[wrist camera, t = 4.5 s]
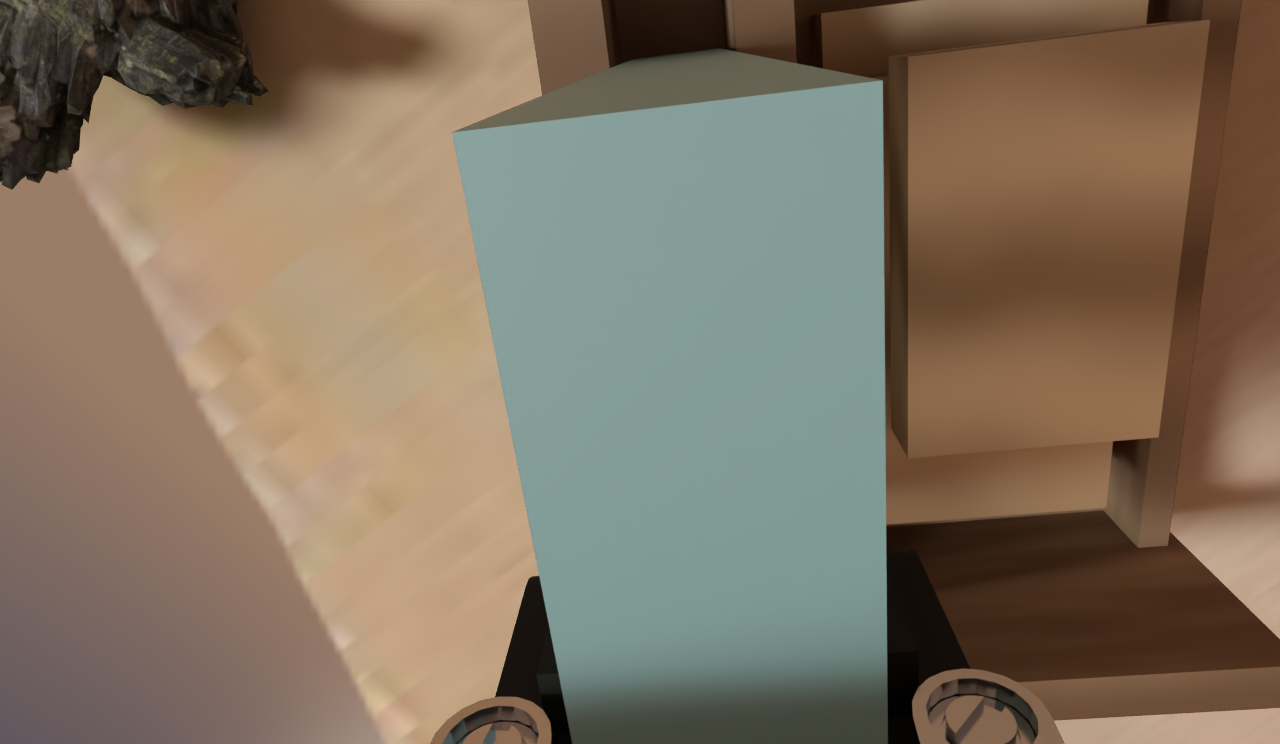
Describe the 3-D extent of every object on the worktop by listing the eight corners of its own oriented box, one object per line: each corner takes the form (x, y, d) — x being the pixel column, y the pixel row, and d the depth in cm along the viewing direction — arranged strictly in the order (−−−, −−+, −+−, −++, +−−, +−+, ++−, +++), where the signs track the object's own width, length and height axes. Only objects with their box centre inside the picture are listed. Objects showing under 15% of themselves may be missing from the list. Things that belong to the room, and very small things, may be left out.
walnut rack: (532, -86, 26) (449, -163, 16) (1197, -181, 24) (1524, -326, 15) (626, 557, 34) (606, 745, 25) (1120, 520, 33) (1296, 706, 23)
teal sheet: (631, 59, 23) (451, 133, 5) (719, 48, 23) (882, 81, 5) (680, 485, 28) (684, 1310, 10) (752, 479, 28) (892, 1311, 10)
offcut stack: (810, 16, 25) (848, 6, 20) (1115, -24, 24) (1245, -45, 19) (828, 474, 31) (861, 568, 25) (1075, 454, 30) (1165, 546, 25)
